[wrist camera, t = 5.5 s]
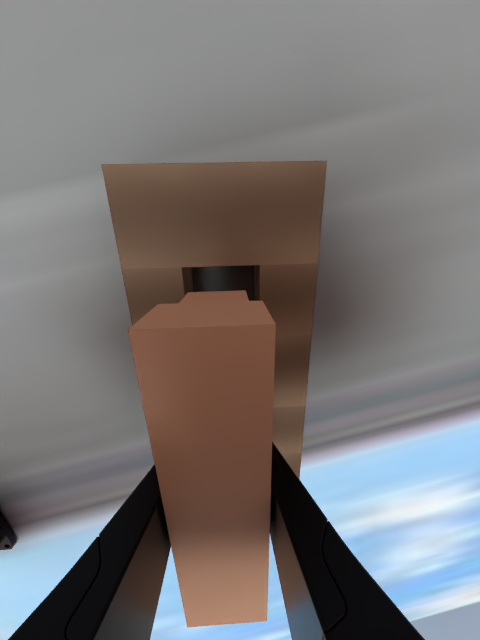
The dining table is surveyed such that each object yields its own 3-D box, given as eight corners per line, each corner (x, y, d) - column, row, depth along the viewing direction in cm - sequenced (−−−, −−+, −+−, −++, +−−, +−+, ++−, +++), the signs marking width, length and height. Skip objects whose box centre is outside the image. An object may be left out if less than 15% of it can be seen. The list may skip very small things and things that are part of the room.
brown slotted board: (288, 460, 20) (297, 496, 17) (176, 466, 20) (166, 504, 17) (305, 178, 13) (326, 160, 10) (130, 181, 13) (101, 164, 10)
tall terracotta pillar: (253, 486, 13) (266, 621, 9) (202, 489, 13) (187, 627, 8) (252, 283, 9) (275, 324, 5) (180, 285, 9) (128, 329, 5)
